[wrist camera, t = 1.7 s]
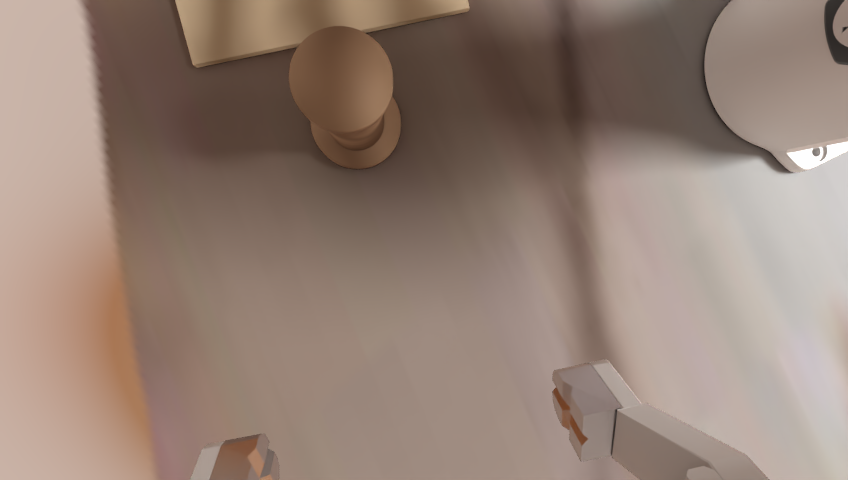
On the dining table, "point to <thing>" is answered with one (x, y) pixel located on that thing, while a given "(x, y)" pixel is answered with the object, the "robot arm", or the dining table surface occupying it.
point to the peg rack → (290, 22)
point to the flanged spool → (346, 96)
